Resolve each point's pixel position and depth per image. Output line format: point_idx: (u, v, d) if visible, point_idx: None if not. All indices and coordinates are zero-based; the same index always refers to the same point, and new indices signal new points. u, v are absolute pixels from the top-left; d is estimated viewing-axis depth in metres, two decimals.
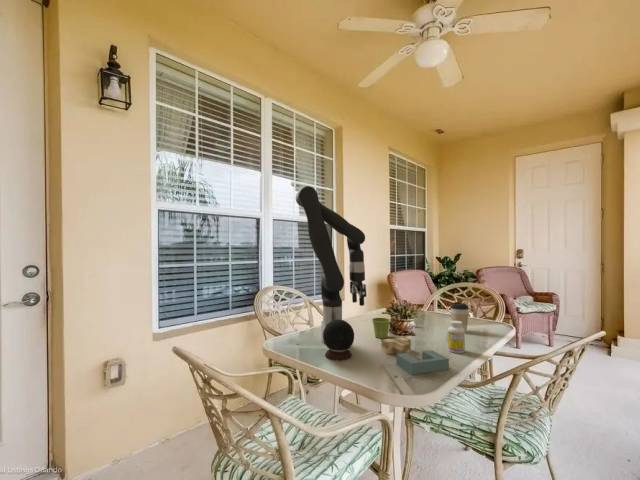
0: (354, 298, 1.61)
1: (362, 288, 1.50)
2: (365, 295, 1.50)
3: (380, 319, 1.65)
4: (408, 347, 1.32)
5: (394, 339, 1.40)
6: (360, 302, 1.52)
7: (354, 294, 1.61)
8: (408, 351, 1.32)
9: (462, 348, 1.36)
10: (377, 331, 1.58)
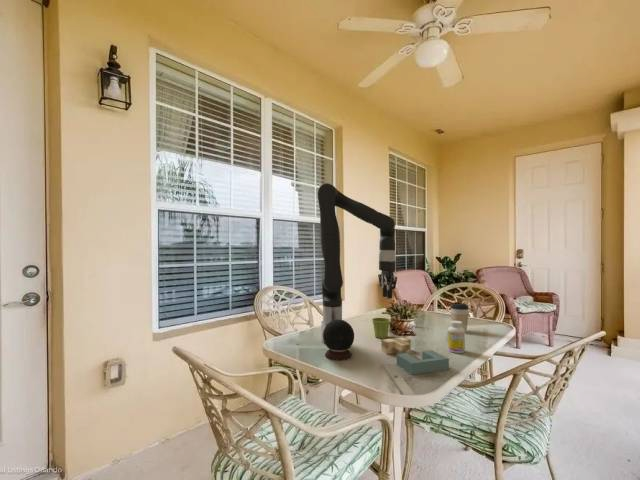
0: (384, 292, 1.49)
1: (393, 281, 1.41)
2: (394, 288, 1.42)
3: (380, 319, 1.65)
4: (408, 347, 1.32)
5: (394, 339, 1.40)
6: (388, 294, 1.44)
7: (385, 288, 1.49)
8: (408, 351, 1.32)
9: (462, 348, 1.36)
10: (377, 331, 1.58)
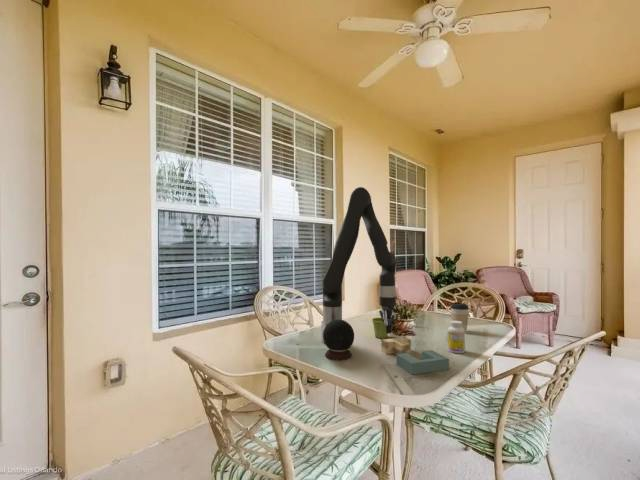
0: None
1: (393, 319, 1.42)
2: None
3: (380, 319, 1.65)
4: (408, 347, 1.32)
5: (394, 339, 1.40)
6: (387, 330, 1.46)
7: None
8: (408, 351, 1.32)
9: (462, 348, 1.36)
10: (377, 331, 1.58)
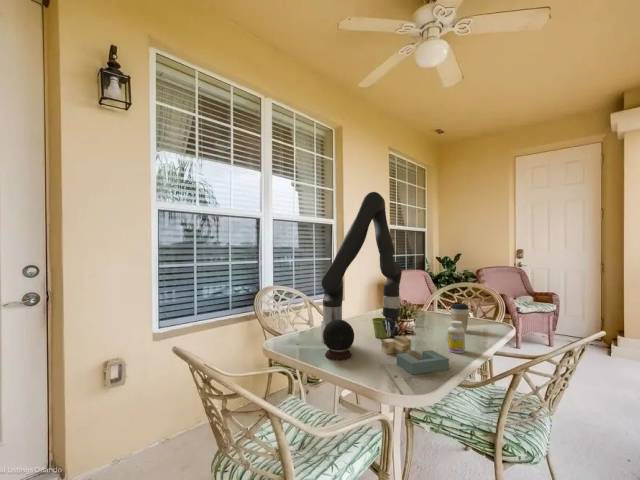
0: None
1: (396, 331, 1.39)
2: (396, 335, 1.41)
3: (380, 319, 1.65)
4: (408, 347, 1.32)
5: (394, 339, 1.40)
6: None
7: None
8: (408, 351, 1.32)
9: (462, 348, 1.36)
10: (377, 331, 1.58)
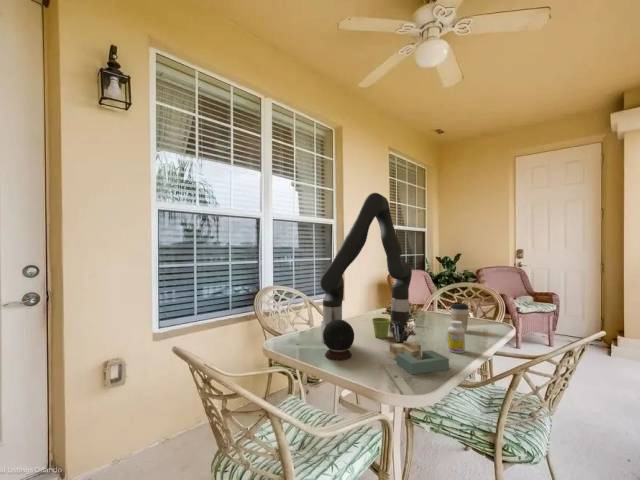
0: None
1: (405, 335, 1.31)
2: (405, 340, 1.34)
3: (380, 319, 1.65)
4: (417, 353, 1.25)
5: (403, 344, 1.33)
6: None
7: None
8: (418, 357, 1.25)
9: (462, 348, 1.36)
10: (377, 331, 1.58)
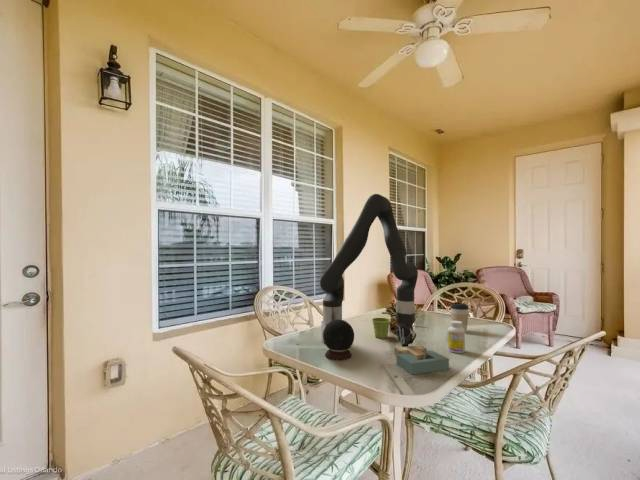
0: None
1: (411, 338, 1.28)
2: (411, 343, 1.30)
3: (380, 319, 1.65)
4: (423, 357, 1.21)
5: (408, 347, 1.29)
6: None
7: None
8: None
9: (462, 348, 1.36)
10: (377, 331, 1.58)
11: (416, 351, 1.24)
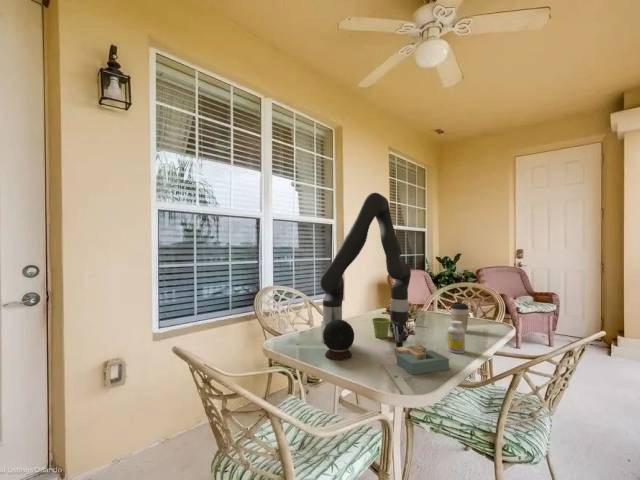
0: None
1: (404, 335, 1.31)
2: (404, 340, 1.34)
3: (380, 319, 1.65)
4: (423, 357, 1.21)
5: (408, 347, 1.29)
6: (398, 346, 1.35)
7: None
8: None
9: (462, 348, 1.36)
10: (377, 331, 1.58)
11: (416, 351, 1.24)
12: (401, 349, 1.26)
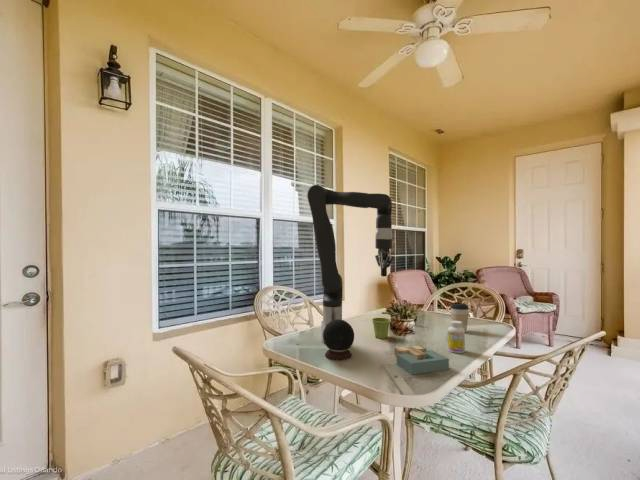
0: None
1: (388, 260, 1.41)
2: (388, 266, 1.43)
3: (380, 319, 1.65)
4: (423, 357, 1.21)
5: (408, 347, 1.29)
6: (383, 272, 1.45)
7: None
8: None
9: (462, 348, 1.36)
10: (377, 331, 1.58)
11: (416, 351, 1.24)
12: (401, 349, 1.26)
